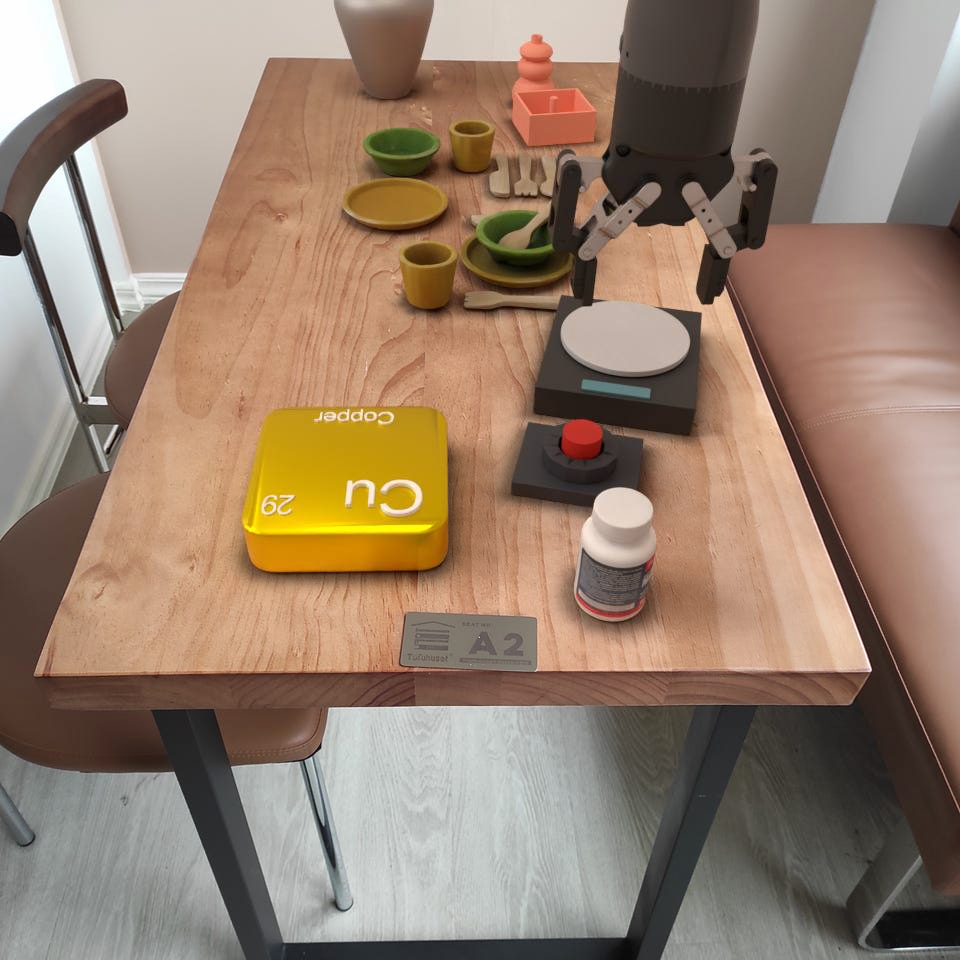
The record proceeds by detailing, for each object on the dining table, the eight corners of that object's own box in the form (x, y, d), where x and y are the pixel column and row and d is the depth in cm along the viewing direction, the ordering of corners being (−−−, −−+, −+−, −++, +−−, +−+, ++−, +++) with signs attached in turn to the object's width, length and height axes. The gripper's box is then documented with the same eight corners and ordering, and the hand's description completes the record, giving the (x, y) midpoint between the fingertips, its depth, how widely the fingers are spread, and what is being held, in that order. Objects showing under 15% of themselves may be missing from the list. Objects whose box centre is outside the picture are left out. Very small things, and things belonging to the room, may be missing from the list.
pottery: (593, 141, 130) (601, 68, 123) (528, 146, 128) (532, 72, 121) (557, 95, 143) (562, 27, 136) (498, 99, 141) (500, 30, 134)
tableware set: (585, 320, 95) (591, 265, 91) (314, 314, 95) (308, 258, 91) (563, 155, 126) (566, 108, 122) (358, 151, 126) (354, 103, 121)
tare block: (641, 450, 80) (646, 423, 78) (633, 514, 74) (638, 486, 72) (527, 434, 81) (529, 406, 79) (510, 494, 76) (512, 466, 74)
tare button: (602, 438, 77) (604, 422, 76) (598, 463, 75) (600, 446, 73) (564, 433, 77) (566, 416, 76) (558, 457, 75) (560, 440, 74)
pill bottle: (649, 624, 66) (668, 536, 60) (575, 623, 66) (587, 534, 60) (640, 569, 70) (658, 481, 64) (571, 567, 70) (582, 480, 64)
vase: (424, 113, 136) (420, -83, 120) (329, 104, 138) (312, -89, 121) (443, 79, 147) (442, -105, 130) (355, 72, 149) (343, -111, 132)
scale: (696, 337, 93) (703, 305, 91) (690, 436, 82) (697, 401, 79) (558, 319, 95) (561, 287, 93) (533, 413, 84) (535, 379, 81)
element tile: (447, 443, 80) (447, 399, 77) (448, 572, 69) (448, 527, 66) (272, 444, 80) (264, 400, 76) (245, 575, 68) (235, 529, 65)
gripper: (573, 82, 51) (551, 331, 62) (824, 81, 52) (759, 327, 63) (555, 38, 57) (537, 274, 68) (782, 39, 58) (729, 271, 69)
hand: (644, 300), depth 65 cm, fingers open, 8 cm apart
